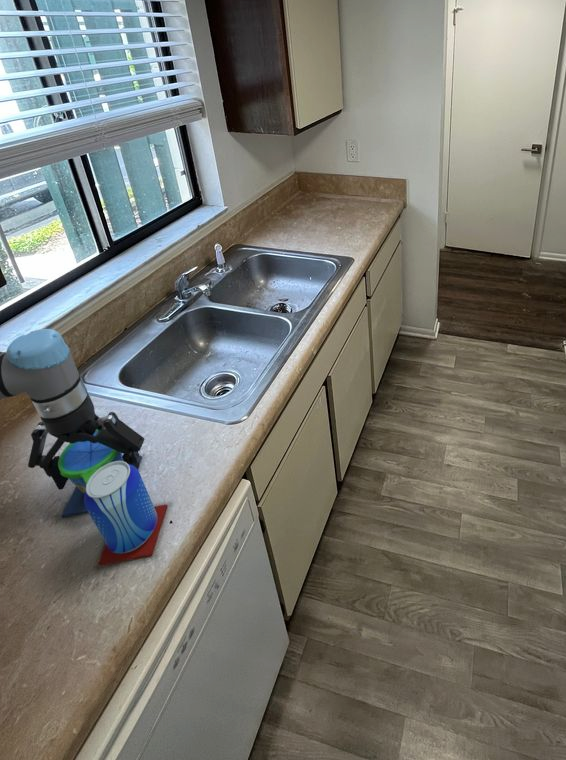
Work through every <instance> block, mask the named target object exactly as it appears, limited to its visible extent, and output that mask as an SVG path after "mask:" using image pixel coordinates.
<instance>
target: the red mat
mask: <svg viewBox="0 0 566 760" xmlns="http://www.w3.org/2000/svg"><path fill="white" fill-rule="evenodd" d="M154 508H155V510H156V513H157V523H156V526H155V528H154V530H153V532H152V534H151V535H150V537H149V538H148V540H147V541H146V542H145V543H144V544H142V545H141V546H140V547H138V548H137V549H135V550H133V551H130V552H126V553H114V552H112V551H110V550H109V549H108V547H107V545H106V544H105V545H104V548H103V551H102V553H101V555H100V558H99V560H98V563H97V565H98V567H101V566H106V565H110V564H111V565H112V564H116V563H120V562H126V561H131V560H136V559H137V560H138V559H141V558H147V557H153V555H154V551H155V548H156V545H157V543H158V538H159V536H160V532H161V530H162V529H161V528H162V527H163V526H162V525H163V522H164V518H165V517H166V512H167V510H168V504H162V505H156V506H154Z"/></svg>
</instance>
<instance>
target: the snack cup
mask: <svg viewBox="0 0 566 760" xmlns="http://www.w3.org/2000/svg"><path fill="white" fill-rule="evenodd" d="M97 433H98V429H96V431H95V433H94V434H93V435H94V436H96V434H97ZM122 456H123V453H121V452H119V451H116V450H114V449H112V448H109V447H107V446H105V445H103V444H100V443H98V442H97V443H92V442H89V441H85V442H76V443H72V444H70V443H69V444H68V445H67V446H66V447H65V448H64V449H63V450H62V451H61V454H60V455H59V460H58V467H59V470H60V472H61V473H60V474H61V475H62V476H64V477H67V478H69V479H68V480H69V481H70V482H72V484H74V486H75V488H76V487H78V488H79V489H80V490H81V492H82V493H84V494H85V492H86V485H87V482H88V480H89V479H90V477H91V476H92V475H93V474H94V473H95V472H96V471H97V470H98V469H100V468H101V467H103V466H104V465H106V464H109V463H111V462H115V461H123V459H122ZM123 462H124V461H123Z"/></svg>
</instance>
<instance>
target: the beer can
mask: <svg viewBox="0 0 566 760" xmlns="http://www.w3.org/2000/svg"><path fill="white" fill-rule="evenodd" d="M84 504H85V507H86V509H87V510H88V512H89V513H88V514H89V516H90V518H91V520H92V521H93V523H94V525H95V527H96V529H97V531H98V532H99V534H100V536H101V538H102V540H103V542H104V544H105V545H107V547H108V549H109V550H110V551H112V552H114V553H126V552H130V551H133V550H135V549H137V548H138V547H140V546H141V545H142V544H144V543H145V542H146V541H147V540H148V538H149V537H150V535H151V534H152V532H153V530H154V528H155V526H156V523H157V513H156V510H155V508H154V507H155V506H154V503H153V501H152V499H151V496H150V494H149V492H148V490H147V487H146V485H145V483H144V479H143V478H142V475H141V474H140V472H139V469H137V468H136V467H134V466H133V465H130V464H127V463H126V462H123V461H115V462H111V463H109V464H106V465H104V466H103V467H101V468H100V469H98V470H97V471H96V472H95V473H94V474H93V475H92V476H91V477H90V479H89V480H88V482H87V485H86V492H85V495H84Z"/></svg>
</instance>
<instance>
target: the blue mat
mask: <svg viewBox="0 0 566 760" xmlns="http://www.w3.org/2000/svg"><path fill="white" fill-rule="evenodd" d="M142 458H143V457H142V455H139V459H138V462H139V465H140V463H141V461H142ZM84 495H85V494H84V493H82V492H81V490H80V489H79V488H78V487H76V486H75V488H74V490H73V492H72V493H71V495H70V498H69V499H68V502H67V503H66V505H65V507H64V509H63V511H62V513H61V517H62V518H65V517H71V516H77V515H82V514H89V512H88V510H87V509H86V507H85V504H84Z"/></svg>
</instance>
